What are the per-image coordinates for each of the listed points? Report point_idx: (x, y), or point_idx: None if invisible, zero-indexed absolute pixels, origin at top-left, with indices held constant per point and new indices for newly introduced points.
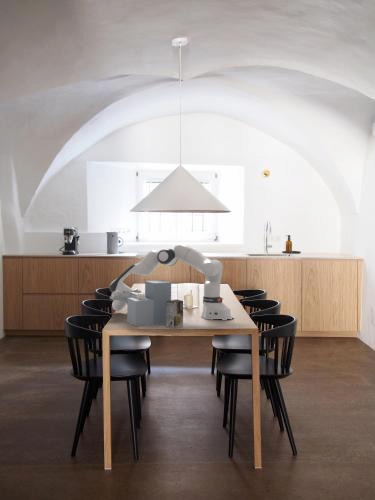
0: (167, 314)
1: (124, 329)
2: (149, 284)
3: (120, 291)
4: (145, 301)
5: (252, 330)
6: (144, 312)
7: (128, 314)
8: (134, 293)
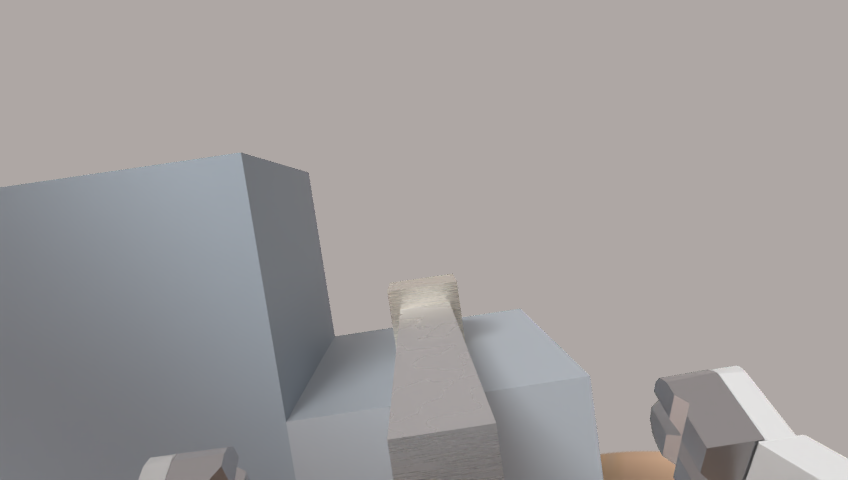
0: None
1: (651, 473)
2: (288, 196)
3: (836, 475)
4: None
5: None
6: None
7: None
8: (453, 340)
